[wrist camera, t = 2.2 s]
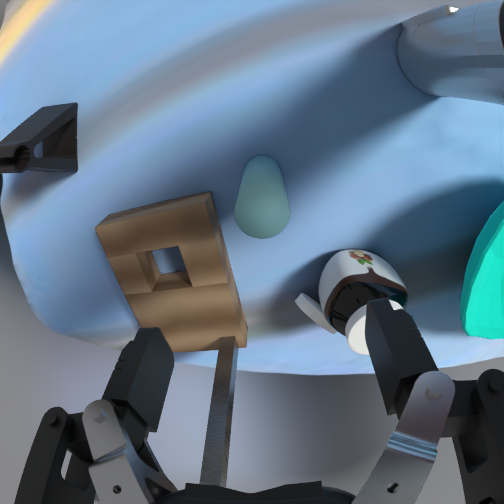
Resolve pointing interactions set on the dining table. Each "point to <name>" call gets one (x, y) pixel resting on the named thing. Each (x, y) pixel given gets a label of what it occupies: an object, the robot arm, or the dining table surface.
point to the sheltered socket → (184, 298)
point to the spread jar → (353, 294)
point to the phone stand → (54, 142)
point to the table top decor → (485, 282)
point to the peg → (262, 199)
